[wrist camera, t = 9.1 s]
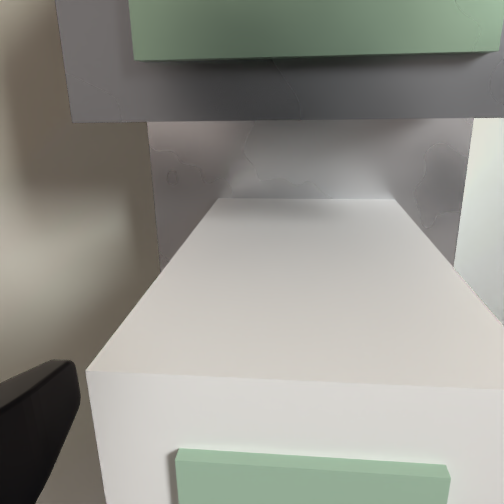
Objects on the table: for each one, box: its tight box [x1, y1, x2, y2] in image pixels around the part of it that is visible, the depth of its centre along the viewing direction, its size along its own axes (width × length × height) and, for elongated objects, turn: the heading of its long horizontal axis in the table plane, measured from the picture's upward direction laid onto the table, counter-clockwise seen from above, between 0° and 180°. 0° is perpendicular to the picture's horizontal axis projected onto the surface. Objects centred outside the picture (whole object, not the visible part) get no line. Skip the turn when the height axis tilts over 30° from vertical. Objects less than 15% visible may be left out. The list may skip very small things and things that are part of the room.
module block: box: [85, 198, 504, 504], centre depth 8 cm, size 4×6×7 cm, turn 1°
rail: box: [55, 0, 504, 272], centre depth 10 cm, size 7×22×6 cm, turn 1°
